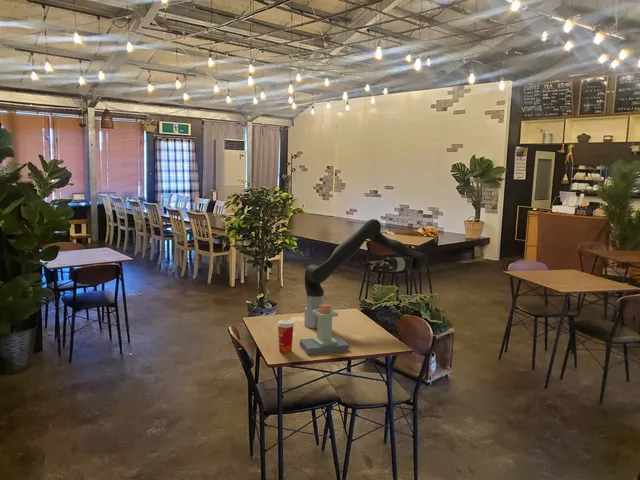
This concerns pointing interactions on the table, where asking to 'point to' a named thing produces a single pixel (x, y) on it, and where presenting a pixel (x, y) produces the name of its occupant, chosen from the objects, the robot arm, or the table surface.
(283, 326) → the paper cup
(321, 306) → the cube
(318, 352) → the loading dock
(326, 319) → the green pedestal
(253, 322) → the table surface
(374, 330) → the table surface
